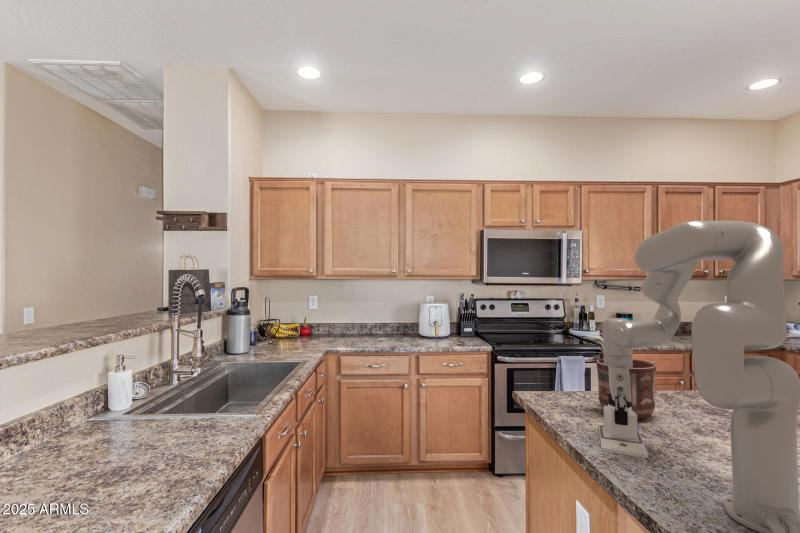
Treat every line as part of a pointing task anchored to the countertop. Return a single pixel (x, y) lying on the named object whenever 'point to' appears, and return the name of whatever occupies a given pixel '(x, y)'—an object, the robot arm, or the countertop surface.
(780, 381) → the robot arm
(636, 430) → the medicine bottle
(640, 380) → the pottery
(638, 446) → the board
